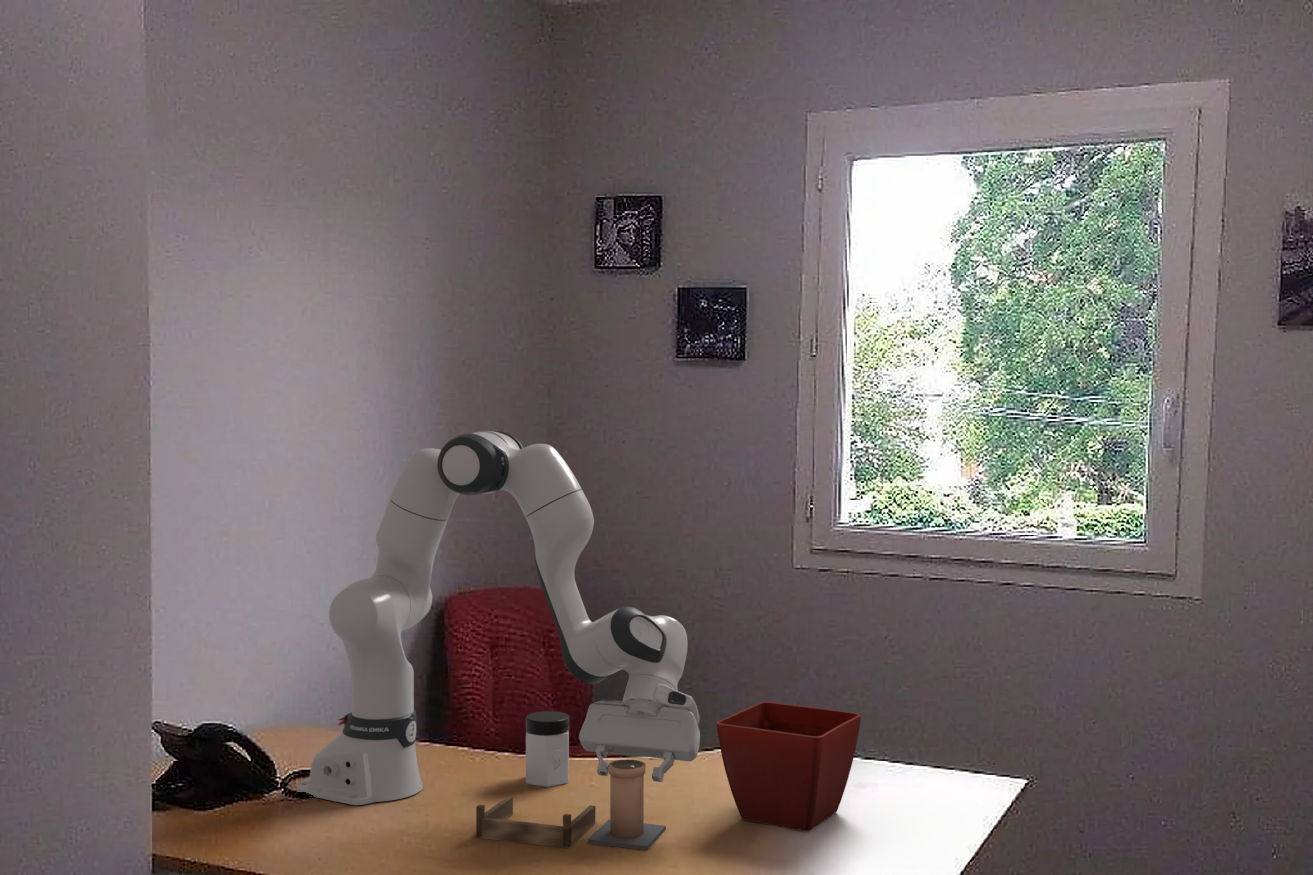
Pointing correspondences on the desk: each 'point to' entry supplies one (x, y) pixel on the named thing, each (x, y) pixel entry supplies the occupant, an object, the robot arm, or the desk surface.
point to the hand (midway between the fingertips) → (629, 777)
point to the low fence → (531, 826)
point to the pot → (626, 798)
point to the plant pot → (788, 762)
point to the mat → (641, 842)
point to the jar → (547, 748)
